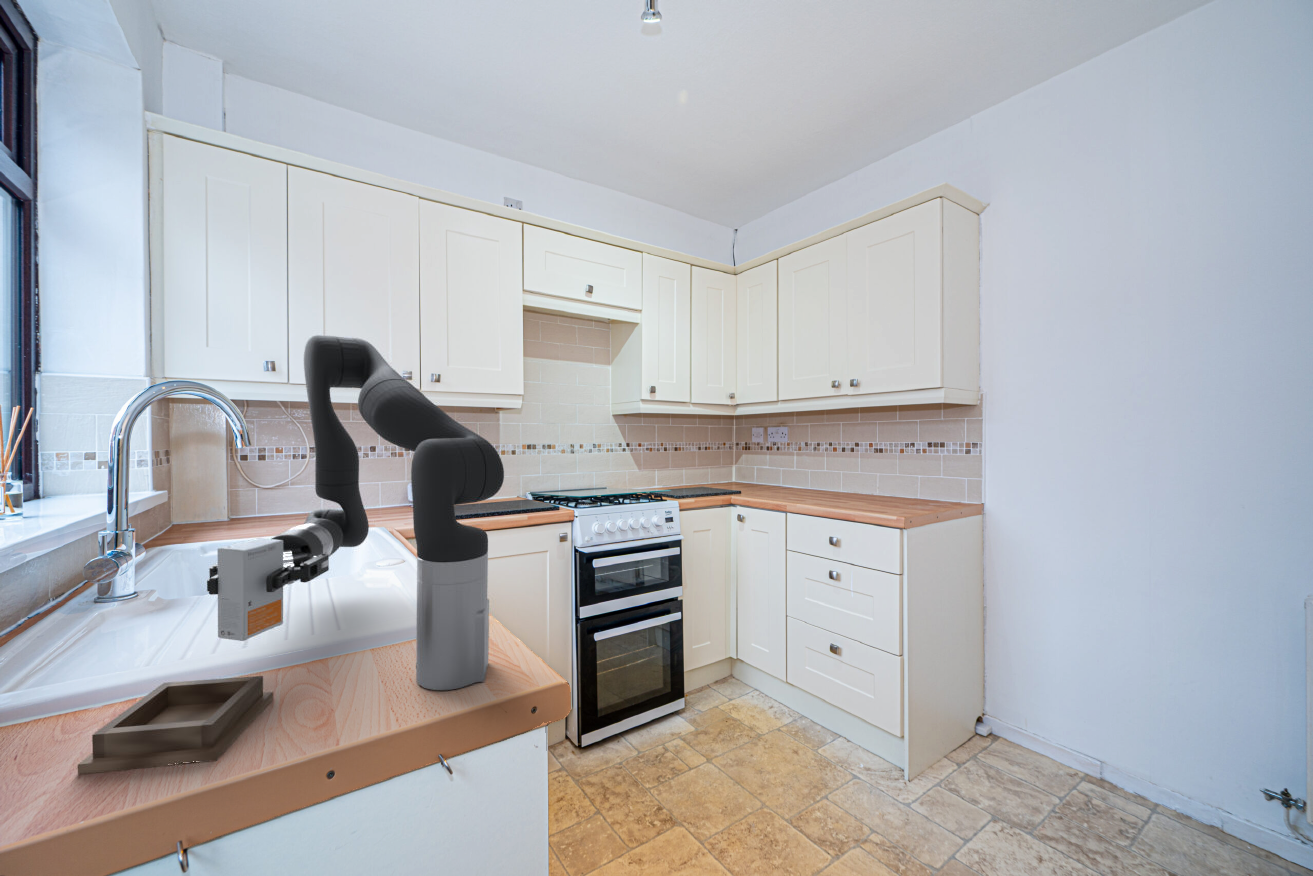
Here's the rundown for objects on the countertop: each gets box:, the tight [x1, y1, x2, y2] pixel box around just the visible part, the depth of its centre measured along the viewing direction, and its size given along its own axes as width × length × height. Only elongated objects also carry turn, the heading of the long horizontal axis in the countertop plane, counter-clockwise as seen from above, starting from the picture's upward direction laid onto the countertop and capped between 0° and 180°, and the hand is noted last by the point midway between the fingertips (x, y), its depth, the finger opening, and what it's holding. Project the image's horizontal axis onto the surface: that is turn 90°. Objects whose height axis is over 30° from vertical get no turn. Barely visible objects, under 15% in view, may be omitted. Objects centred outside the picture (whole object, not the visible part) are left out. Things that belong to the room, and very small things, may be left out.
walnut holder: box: [77, 675, 274, 775], centre depth 60 cm, size 12×12×4 cm
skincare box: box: [217, 537, 284, 642], centre depth 71 cm, size 6×4×12 cm
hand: (241, 586), depth 69 cm, fingers closed on skincare box, 6 cm apart
